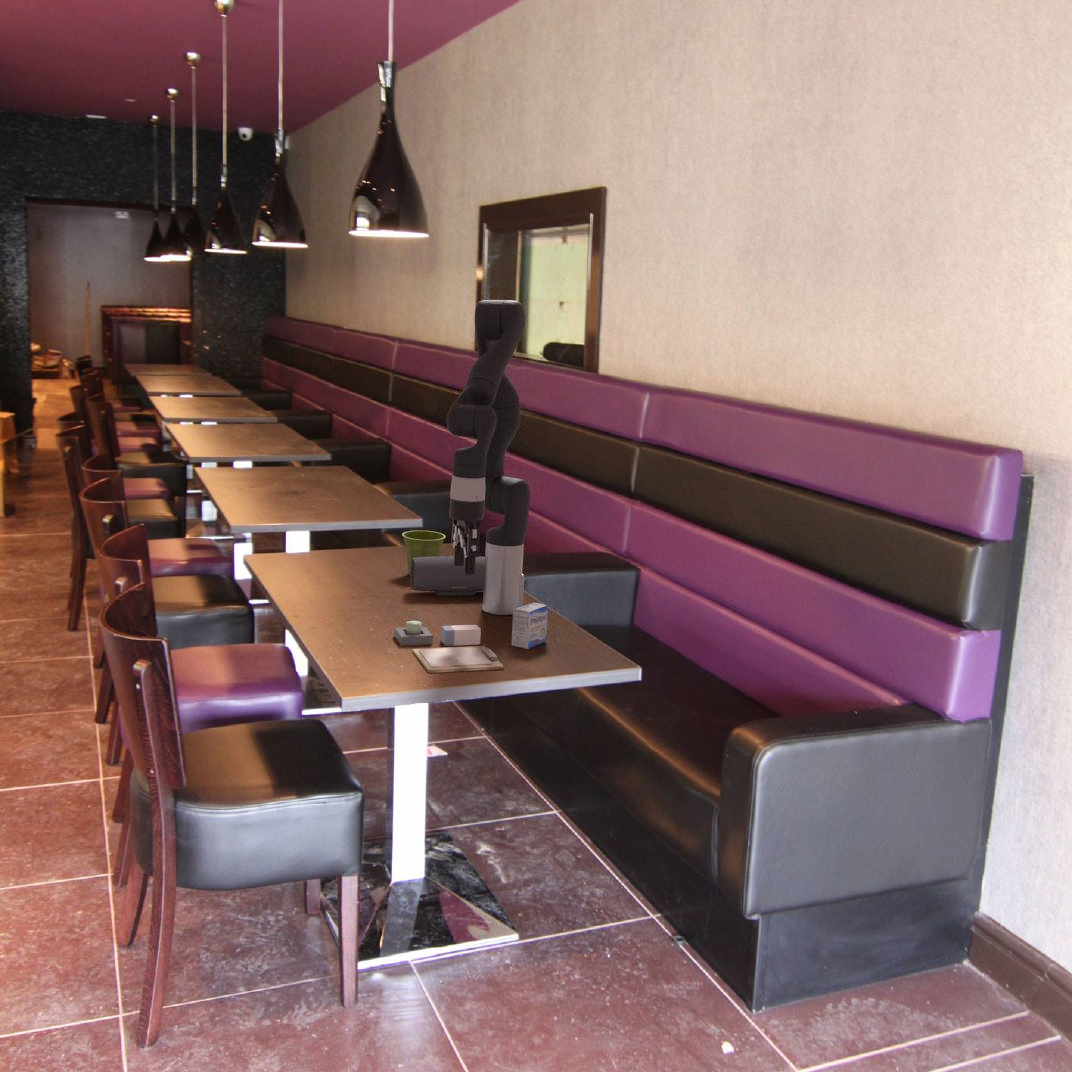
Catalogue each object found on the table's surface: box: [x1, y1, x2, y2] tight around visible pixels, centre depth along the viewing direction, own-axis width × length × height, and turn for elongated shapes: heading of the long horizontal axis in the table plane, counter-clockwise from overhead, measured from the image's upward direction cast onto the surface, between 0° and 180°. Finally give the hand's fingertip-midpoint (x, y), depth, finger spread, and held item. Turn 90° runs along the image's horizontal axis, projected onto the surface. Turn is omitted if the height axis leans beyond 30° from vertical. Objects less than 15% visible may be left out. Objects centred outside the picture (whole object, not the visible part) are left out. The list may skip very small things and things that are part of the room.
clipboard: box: [412, 645, 505, 674], centre depth 236 cm, size 16×14×1 cm
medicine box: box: [511, 602, 549, 650], centre depth 250 cm, size 8×4×9 cm, turn 148°
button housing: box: [393, 626, 434, 647], centre depth 247 cm, size 7×7×2 cm
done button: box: [405, 620, 423, 635], centre depth 247 cm, size 3×3×3 cm
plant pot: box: [401, 530, 447, 576], centre depth 305 cm, size 12×12×11 cm
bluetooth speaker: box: [409, 555, 485, 596], centre depth 288 cm, size 23×9×10 cm, turn 106°
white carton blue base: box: [440, 624, 482, 647], centre depth 248 cm, size 8×4×4 cm, turn 109°
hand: (463, 569), depth 245 cm, fingers open, 8 cm apart
